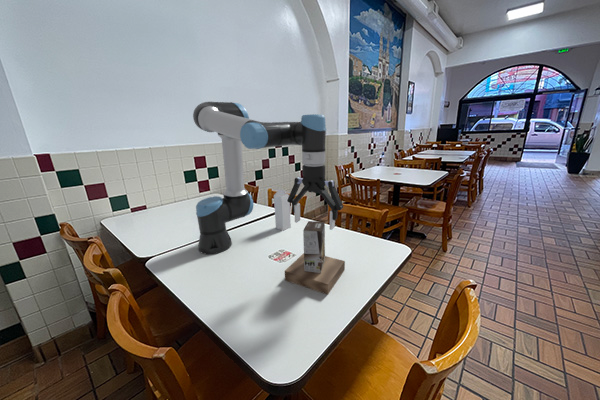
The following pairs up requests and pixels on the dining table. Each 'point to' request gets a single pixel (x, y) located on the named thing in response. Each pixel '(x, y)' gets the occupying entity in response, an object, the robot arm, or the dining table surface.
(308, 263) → the coffee box
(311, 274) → the walnut pedestal
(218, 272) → the dining table surface
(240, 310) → the dining table surface
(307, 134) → the robot arm
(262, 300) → the dining table surface
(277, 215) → the milk
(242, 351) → the dining table surface
